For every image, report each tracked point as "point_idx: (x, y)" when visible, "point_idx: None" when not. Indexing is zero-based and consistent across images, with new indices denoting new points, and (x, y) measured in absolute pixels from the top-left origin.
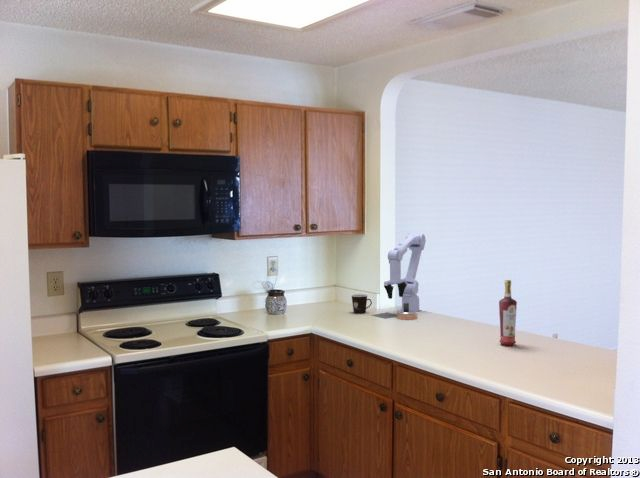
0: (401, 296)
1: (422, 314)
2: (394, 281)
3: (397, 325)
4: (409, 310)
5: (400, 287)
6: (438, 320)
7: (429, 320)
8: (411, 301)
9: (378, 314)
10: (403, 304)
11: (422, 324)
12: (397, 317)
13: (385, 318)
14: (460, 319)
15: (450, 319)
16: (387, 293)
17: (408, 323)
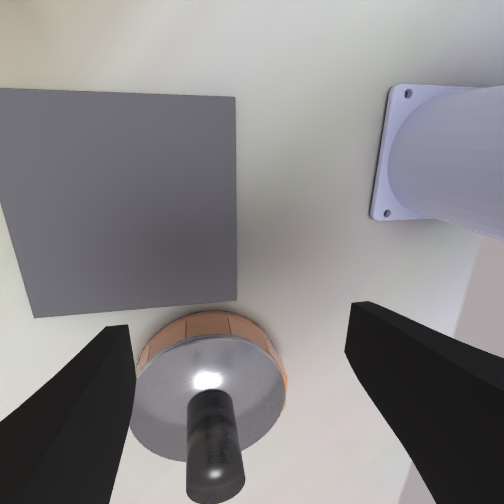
0: (348, 354)
1: (393, 309)
2: None
3: None
4: (268, 381)
5: (488, 481)
6: (318, 462)
7: (285, 446)
8: (489, 236)
9: (84, 121)
10: (192, 462)
11: (180, 500)
12: (147, 347)
13: (42, 311)
14: (403, 479)
15: (376, 465)
16: (42, 394)
17: (127, 460)
